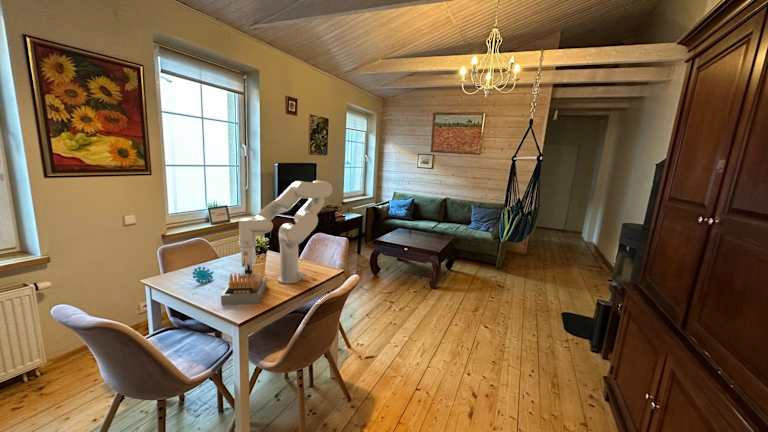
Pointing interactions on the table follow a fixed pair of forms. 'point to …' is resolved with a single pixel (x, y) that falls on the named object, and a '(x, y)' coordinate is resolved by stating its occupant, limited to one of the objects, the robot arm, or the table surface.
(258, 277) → the slider
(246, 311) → the table surface
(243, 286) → the ammunition clip
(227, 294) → the grey shallow rimmed piece
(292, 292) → the table surface
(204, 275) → the gear
